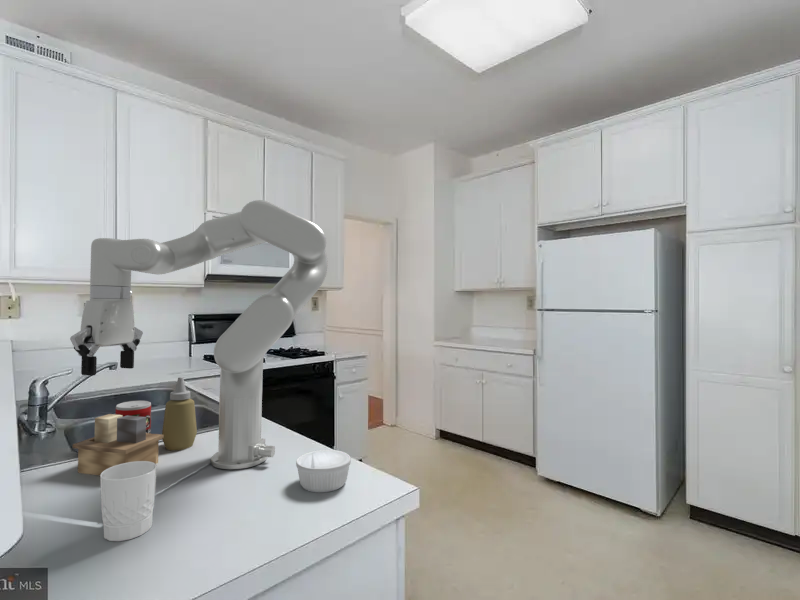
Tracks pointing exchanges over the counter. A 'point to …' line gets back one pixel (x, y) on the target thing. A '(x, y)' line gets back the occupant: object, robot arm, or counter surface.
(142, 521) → the white cup
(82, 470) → the toolbox
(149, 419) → the canned food
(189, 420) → the squeeze bottle
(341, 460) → the ramekin
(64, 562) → the counter surface
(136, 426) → the wooden frame
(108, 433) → the wooden block
